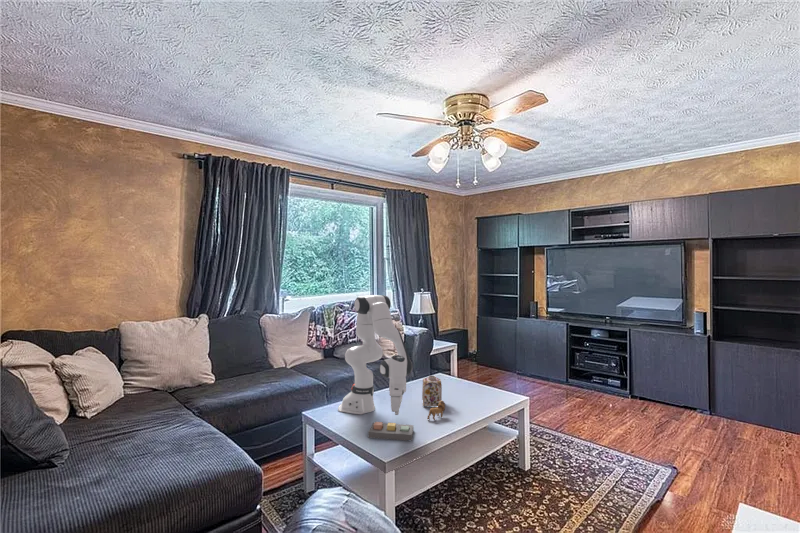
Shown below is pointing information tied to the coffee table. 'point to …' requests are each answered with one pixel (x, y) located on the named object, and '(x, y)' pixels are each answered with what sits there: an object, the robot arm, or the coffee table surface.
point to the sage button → (405, 428)
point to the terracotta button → (378, 425)
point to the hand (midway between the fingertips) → (397, 414)
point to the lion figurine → (437, 410)
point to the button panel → (391, 433)
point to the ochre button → (391, 426)
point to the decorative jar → (431, 391)
